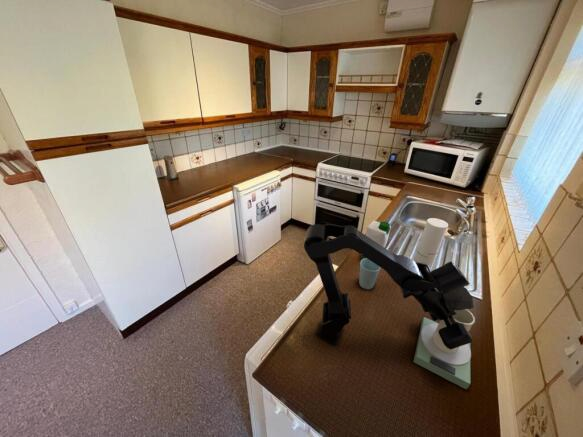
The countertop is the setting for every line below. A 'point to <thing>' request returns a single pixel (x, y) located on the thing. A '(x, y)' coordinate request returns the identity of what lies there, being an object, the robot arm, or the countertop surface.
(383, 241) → the milk carton
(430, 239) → the cylindrical container
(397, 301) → the countertop surface
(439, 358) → the kitchen scale
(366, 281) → the cup
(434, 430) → the countertop surface
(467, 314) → the beaker
